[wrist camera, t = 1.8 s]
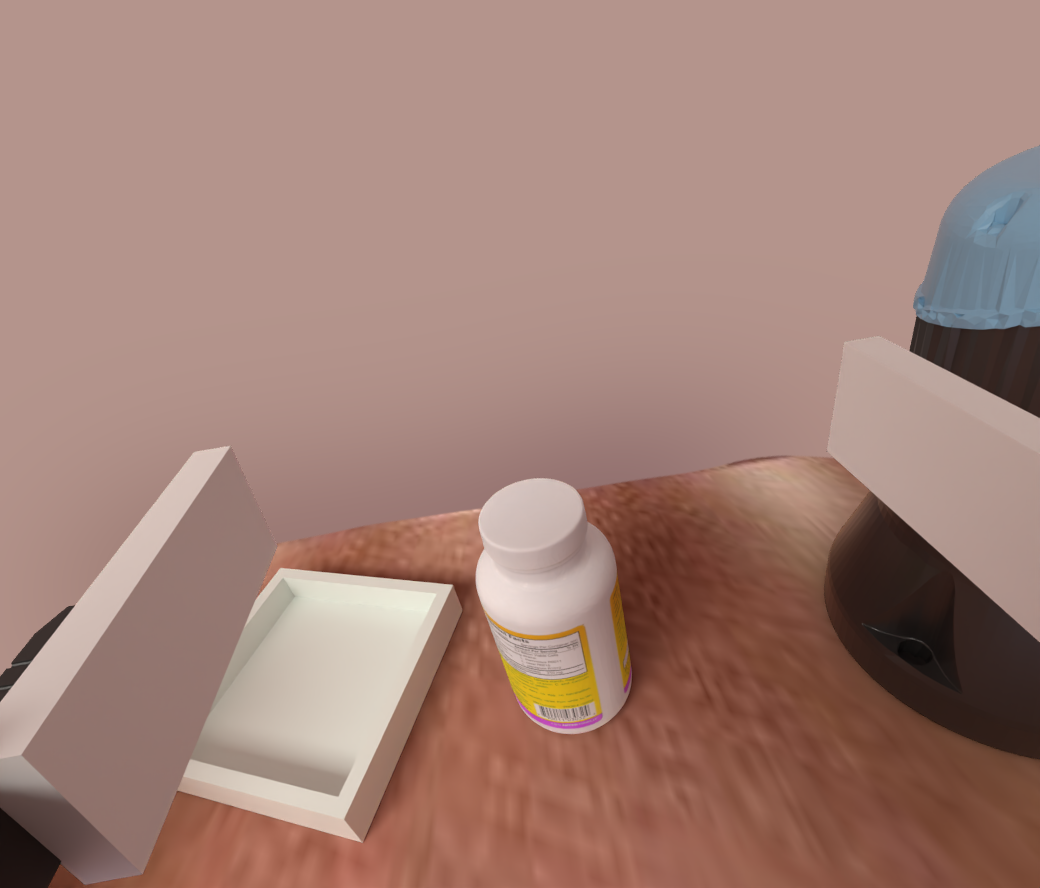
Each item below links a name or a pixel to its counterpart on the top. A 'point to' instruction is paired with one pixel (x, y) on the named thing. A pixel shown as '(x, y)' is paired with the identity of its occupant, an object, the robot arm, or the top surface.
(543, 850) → the top surface
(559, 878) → the top surface
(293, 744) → the tray
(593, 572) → the supplement bottle
